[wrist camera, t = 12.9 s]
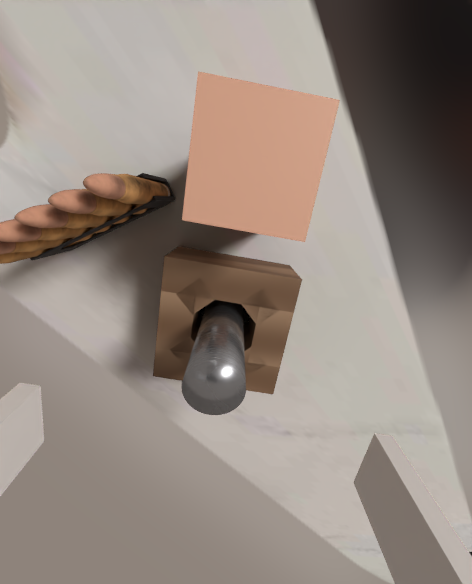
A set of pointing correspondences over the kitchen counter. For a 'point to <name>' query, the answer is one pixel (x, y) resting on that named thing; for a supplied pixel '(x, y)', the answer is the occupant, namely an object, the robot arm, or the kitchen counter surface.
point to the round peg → (217, 361)
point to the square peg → (256, 156)
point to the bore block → (231, 288)
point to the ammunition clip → (81, 215)
